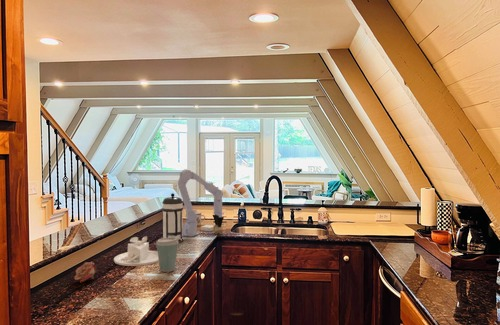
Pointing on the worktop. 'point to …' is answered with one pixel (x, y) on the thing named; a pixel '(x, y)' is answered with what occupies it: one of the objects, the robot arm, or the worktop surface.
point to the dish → (137, 254)
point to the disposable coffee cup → (167, 253)
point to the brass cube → (217, 229)
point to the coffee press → (173, 217)
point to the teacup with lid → (199, 217)
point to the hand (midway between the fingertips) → (218, 226)
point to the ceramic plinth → (207, 228)
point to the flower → (85, 271)
